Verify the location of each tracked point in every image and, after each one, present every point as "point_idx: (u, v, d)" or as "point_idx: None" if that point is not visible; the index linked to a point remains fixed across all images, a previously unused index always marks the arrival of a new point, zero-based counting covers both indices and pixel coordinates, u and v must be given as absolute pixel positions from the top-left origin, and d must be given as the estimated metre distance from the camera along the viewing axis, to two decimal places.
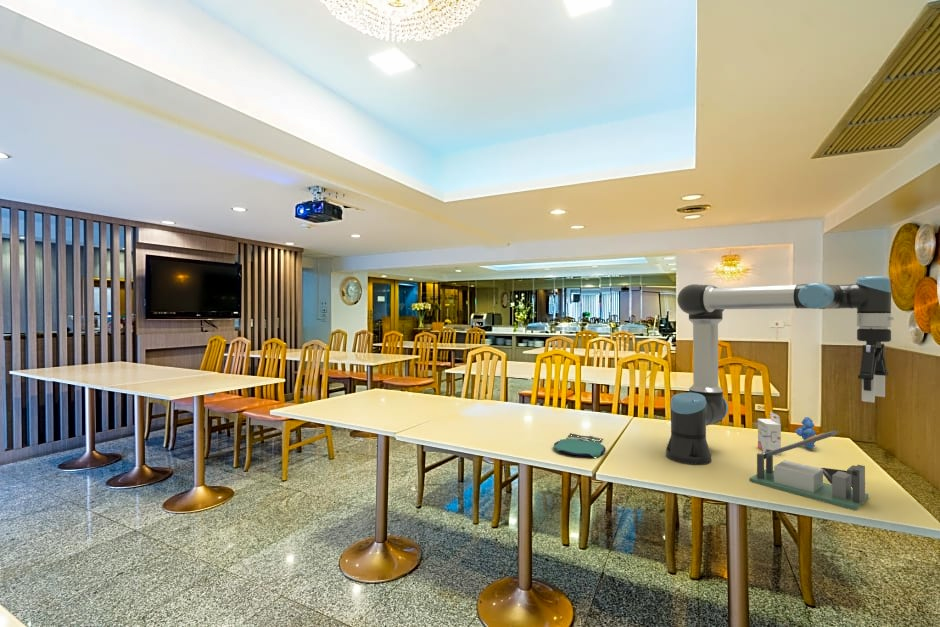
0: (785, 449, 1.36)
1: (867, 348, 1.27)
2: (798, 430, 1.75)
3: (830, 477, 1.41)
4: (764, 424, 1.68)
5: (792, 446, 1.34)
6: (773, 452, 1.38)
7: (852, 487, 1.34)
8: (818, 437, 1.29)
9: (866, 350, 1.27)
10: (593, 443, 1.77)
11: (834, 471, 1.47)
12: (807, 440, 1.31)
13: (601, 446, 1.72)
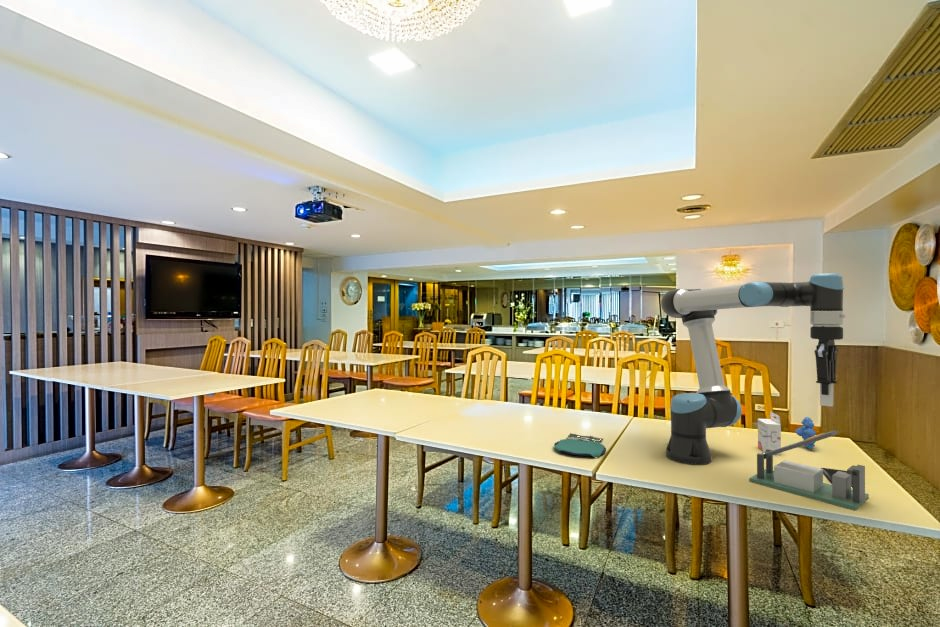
0: (785, 449, 1.36)
1: (819, 354, 1.26)
2: (798, 430, 1.75)
3: (830, 477, 1.41)
4: (764, 424, 1.68)
5: (792, 446, 1.34)
6: (773, 452, 1.38)
7: (852, 487, 1.34)
8: (818, 437, 1.29)
9: (818, 356, 1.26)
10: (593, 443, 1.77)
11: (834, 471, 1.47)
12: (807, 440, 1.31)
13: (601, 446, 1.72)
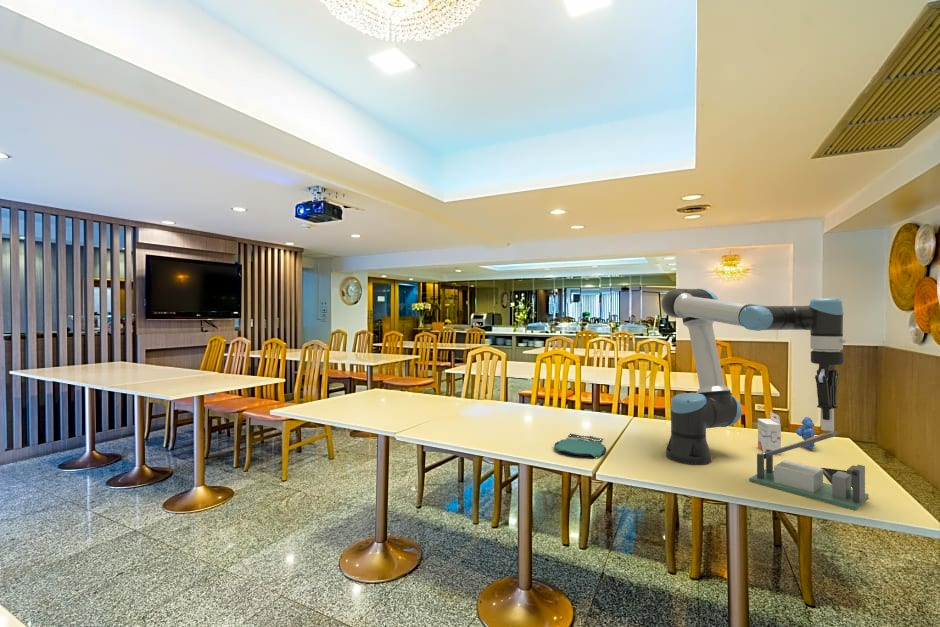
0: (785, 449, 1.36)
1: (820, 380, 1.26)
2: (798, 430, 1.75)
3: (830, 477, 1.41)
4: (764, 424, 1.68)
5: (792, 446, 1.34)
6: (773, 452, 1.38)
7: (852, 487, 1.34)
8: (818, 438, 1.29)
9: (819, 381, 1.26)
10: (593, 443, 1.77)
11: (834, 471, 1.47)
12: (807, 441, 1.31)
13: (602, 446, 1.72)
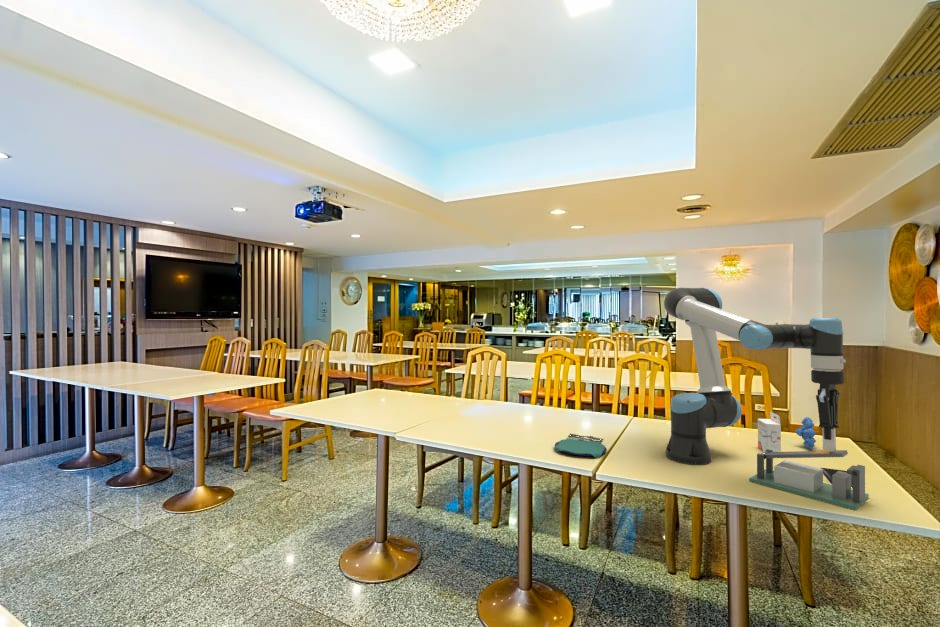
0: (788, 456, 1.35)
1: (821, 399, 1.26)
2: (798, 430, 1.75)
3: (830, 477, 1.41)
4: (764, 424, 1.68)
5: (797, 455, 1.33)
6: (775, 455, 1.38)
7: (852, 487, 1.34)
8: (827, 454, 1.27)
9: (820, 401, 1.26)
10: (594, 443, 1.77)
11: (834, 471, 1.47)
12: (814, 454, 1.30)
13: (602, 446, 1.72)
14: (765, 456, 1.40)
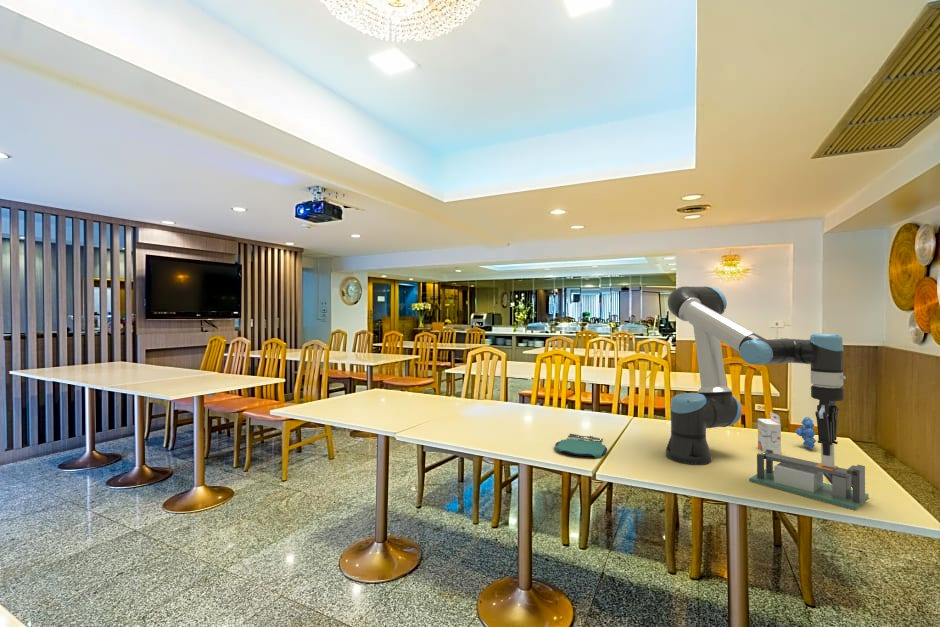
0: (789, 463, 1.35)
1: (820, 416, 1.26)
2: (798, 430, 1.75)
3: (830, 477, 1.41)
4: (764, 424, 1.68)
5: (798, 464, 1.33)
6: (775, 459, 1.38)
7: (852, 487, 1.34)
8: (830, 471, 1.27)
9: (819, 417, 1.26)
10: (594, 443, 1.77)
11: None
12: (817, 467, 1.29)
13: (602, 446, 1.72)
14: (765, 457, 1.40)
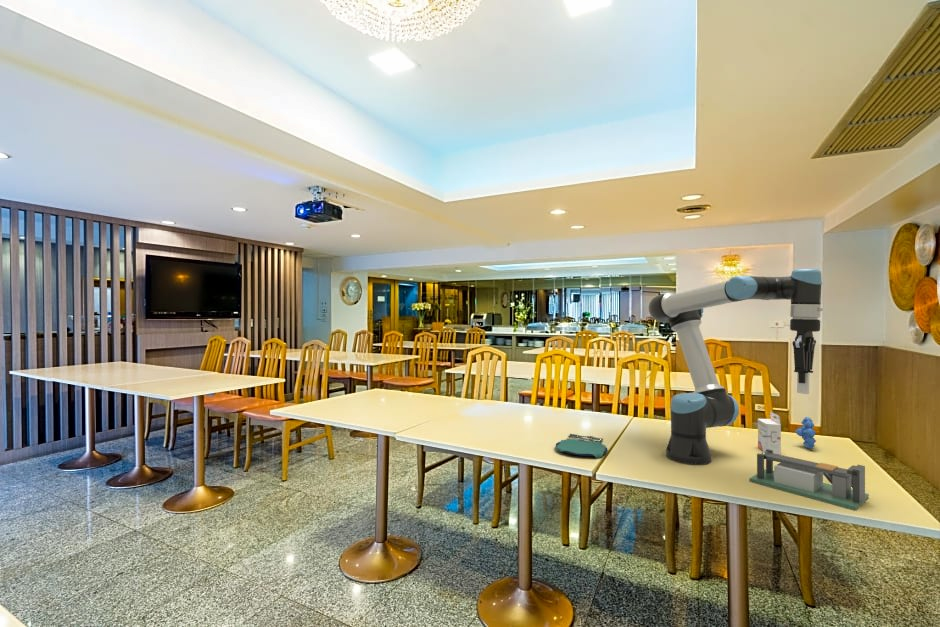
0: (789, 463, 1.35)
1: (796, 345, 1.34)
2: (798, 430, 1.75)
3: (830, 477, 1.41)
4: (764, 424, 1.68)
5: (798, 464, 1.33)
6: (775, 459, 1.38)
7: (852, 487, 1.34)
8: (830, 471, 1.27)
9: (796, 347, 1.34)
10: (594, 443, 1.77)
11: None
12: (817, 467, 1.29)
13: (603, 446, 1.72)
14: (765, 457, 1.40)
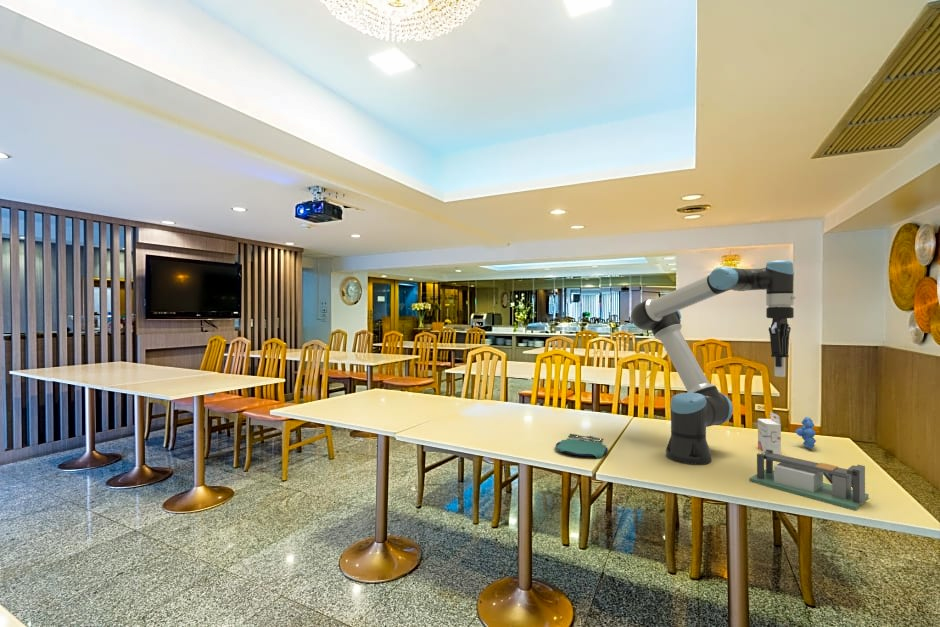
0: (789, 463, 1.35)
1: (772, 331, 1.44)
2: (798, 430, 1.75)
3: (830, 477, 1.41)
4: (764, 424, 1.68)
5: (798, 464, 1.33)
6: (775, 459, 1.38)
7: (852, 487, 1.34)
8: (830, 471, 1.27)
9: (772, 332, 1.44)
10: (594, 443, 1.77)
11: None
12: (817, 467, 1.29)
13: (603, 446, 1.72)
14: (765, 457, 1.40)
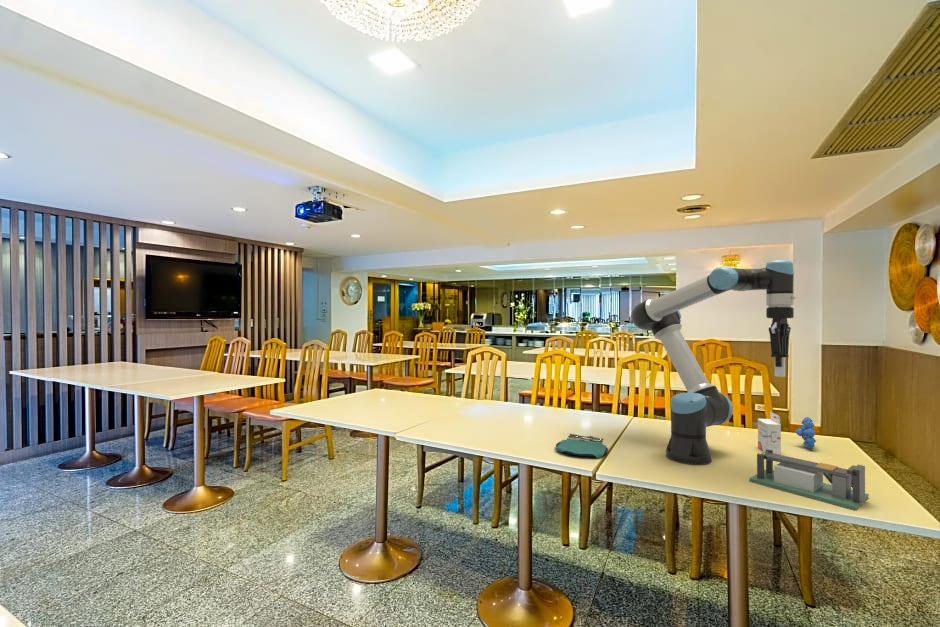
0: (789, 463, 1.35)
1: (772, 331, 1.44)
2: (798, 430, 1.75)
3: (830, 477, 1.41)
4: (764, 424, 1.68)
5: (798, 464, 1.33)
6: (775, 459, 1.38)
7: (852, 487, 1.34)
8: (830, 471, 1.27)
9: (772, 332, 1.44)
10: (594, 443, 1.77)
11: None
12: (817, 467, 1.29)
13: (603, 446, 1.72)
14: (765, 457, 1.40)
